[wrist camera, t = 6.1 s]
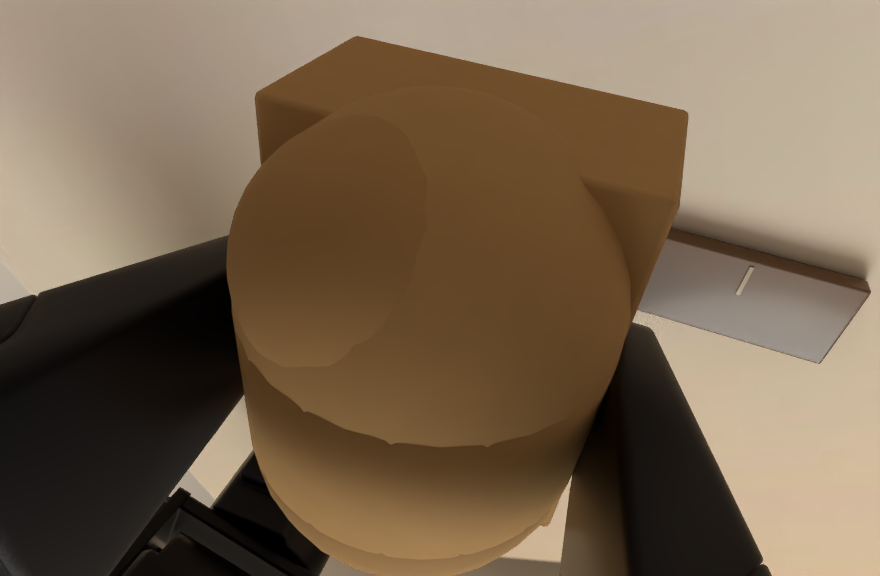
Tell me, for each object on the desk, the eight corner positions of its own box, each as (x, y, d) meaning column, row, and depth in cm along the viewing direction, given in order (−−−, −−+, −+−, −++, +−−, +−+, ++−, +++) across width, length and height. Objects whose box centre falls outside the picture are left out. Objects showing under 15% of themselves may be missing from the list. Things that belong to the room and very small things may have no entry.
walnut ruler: (817, 352, 18) (820, 366, 18) (291, 197, 22) (282, 205, 22) (868, 279, 17) (872, 293, 16) (287, 125, 20) (276, 132, 20)
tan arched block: (570, 426, 11) (503, 701, 8) (351, 350, 12) (201, 563, 8) (703, 76, 7) (689, 321, 3) (355, 2, 8) (70, 136, 4)
